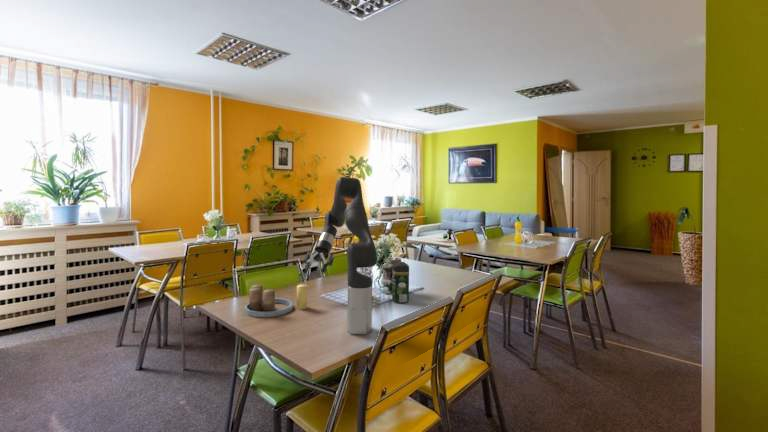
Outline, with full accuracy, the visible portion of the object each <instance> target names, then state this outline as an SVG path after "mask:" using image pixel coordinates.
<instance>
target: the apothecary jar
mask: <svg viewBox="0 0 768 432" xmlns="http://www.w3.org/2000/svg"><path fill="white" fill-rule="evenodd" d="M396 262H402V259H401V257H397V258H396V259H395V260H390V259H387V261H386V263H384V264H383V265H382V264H381V265H382V267H381V268H382V269H383V275H382V278H381V280H380V283H381V285H382V286H383V287H384V288H386V289H387V290H386V289H385V290H386V291H385V292H384V293H385V294H384V293H383V294H384V295H387V294H392V274H393V264H394V263H396Z"/></svg>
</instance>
